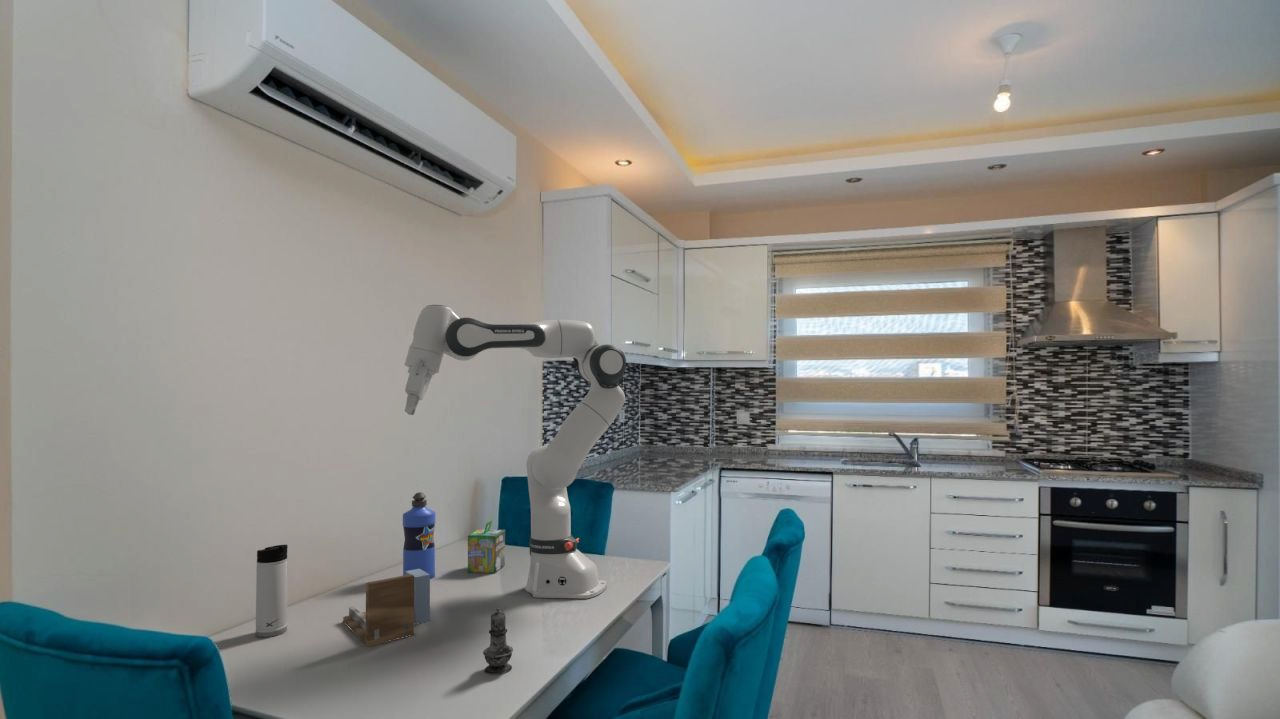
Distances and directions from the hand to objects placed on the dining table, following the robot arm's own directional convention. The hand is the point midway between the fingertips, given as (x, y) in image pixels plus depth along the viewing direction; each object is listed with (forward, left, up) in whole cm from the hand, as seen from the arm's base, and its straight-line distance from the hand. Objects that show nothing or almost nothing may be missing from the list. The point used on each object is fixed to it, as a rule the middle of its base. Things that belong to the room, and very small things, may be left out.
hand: (409, 413), depth 168 cm
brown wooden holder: (-3, +15, -50) cm, 52 cm away
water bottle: (+14, -23, -50) cm, 56 cm away
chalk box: (-1, -36, -50) cm, 61 cm away
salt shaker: (-42, +27, -50) cm, 71 cm away
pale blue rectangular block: (-8, +7, -50) cm, 51 cm away
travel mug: (+19, +24, -50) cm, 58 cm away
